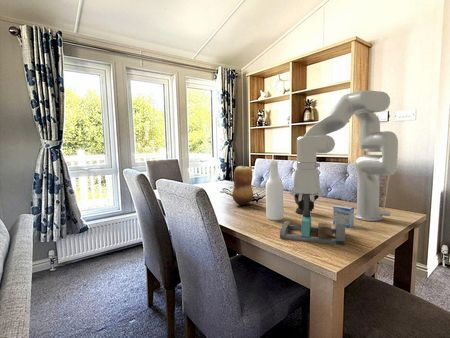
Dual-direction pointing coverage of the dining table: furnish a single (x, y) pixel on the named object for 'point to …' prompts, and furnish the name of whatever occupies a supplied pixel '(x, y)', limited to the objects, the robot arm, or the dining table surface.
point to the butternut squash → (242, 185)
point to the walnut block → (324, 230)
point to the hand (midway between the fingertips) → (306, 209)
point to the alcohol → (274, 194)
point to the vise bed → (338, 231)
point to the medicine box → (344, 214)
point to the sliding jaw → (306, 218)
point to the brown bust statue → (298, 203)
